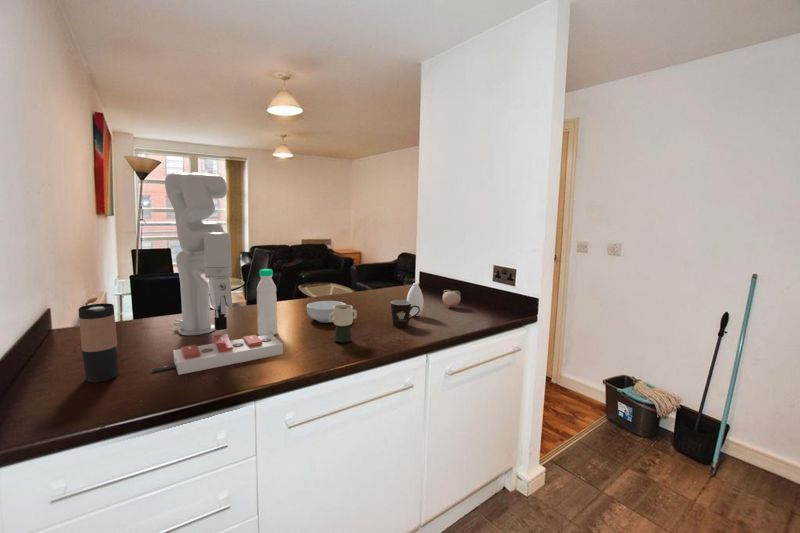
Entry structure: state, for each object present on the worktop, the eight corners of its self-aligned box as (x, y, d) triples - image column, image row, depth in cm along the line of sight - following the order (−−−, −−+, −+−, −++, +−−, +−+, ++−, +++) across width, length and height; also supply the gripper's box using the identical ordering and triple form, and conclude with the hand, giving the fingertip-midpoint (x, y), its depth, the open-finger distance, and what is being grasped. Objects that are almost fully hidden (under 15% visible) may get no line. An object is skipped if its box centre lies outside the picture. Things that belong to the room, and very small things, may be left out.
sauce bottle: (423, 319, 170) (424, 279, 168) (406, 318, 170) (407, 279, 168) (422, 314, 178) (423, 276, 175) (406, 314, 178) (407, 276, 175)
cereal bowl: (353, 319, 167) (354, 303, 166) (327, 328, 153) (327, 311, 152) (325, 313, 176) (325, 298, 175) (298, 321, 162) (298, 305, 161)
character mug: (352, 336, 144) (352, 303, 142) (360, 341, 138) (360, 307, 136) (325, 340, 138) (325, 306, 136) (332, 346, 132) (332, 310, 130)
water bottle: (271, 337, 140) (269, 271, 137) (254, 336, 141) (252, 270, 138) (280, 332, 147) (279, 268, 143) (264, 330, 148) (262, 267, 145)
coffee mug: (386, 327, 157) (387, 303, 155) (395, 321, 165) (395, 299, 163) (413, 330, 152) (413, 306, 151) (420, 325, 160) (420, 302, 159)
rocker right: (249, 346, 120) (249, 343, 120) (243, 339, 126) (243, 336, 126) (262, 344, 122) (262, 341, 122) (255, 337, 128) (255, 334, 128)
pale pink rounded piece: (441, 309, 188) (442, 289, 187) (442, 305, 196) (443, 286, 195) (460, 310, 187) (461, 290, 185) (460, 306, 195) (461, 287, 193)
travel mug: (97, 371, 108) (91, 303, 105) (126, 371, 109) (120, 303, 106) (77, 383, 100) (70, 310, 98) (107, 382, 101) (101, 310, 98)
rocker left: (184, 358, 109) (184, 354, 109) (181, 349, 116) (181, 346, 115) (200, 355, 112) (200, 351, 111) (196, 347, 118) (195, 344, 118)
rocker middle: (218, 352, 114) (218, 349, 114) (213, 338, 120) (213, 335, 120) (232, 349, 117) (232, 346, 116) (227, 336, 123) (227, 333, 122)
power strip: (153, 379, 103) (152, 367, 103) (150, 365, 113) (149, 353, 113) (283, 353, 125) (282, 343, 124) (271, 343, 134) (271, 333, 134)
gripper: (237, 274, 113) (239, 333, 116) (226, 268, 125) (228, 321, 128) (209, 276, 109) (212, 337, 112) (201, 269, 121) (203, 325, 123)
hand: (221, 329), depth 120 cm, fingers closed
